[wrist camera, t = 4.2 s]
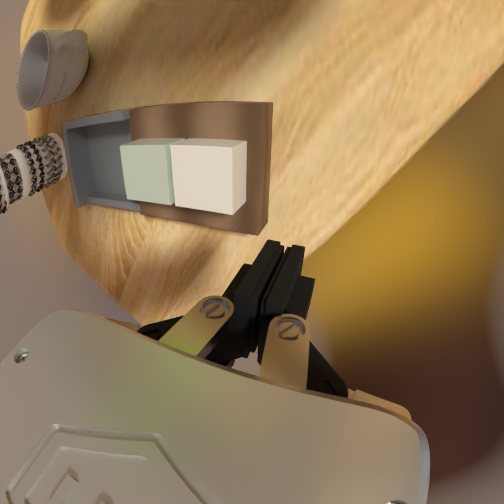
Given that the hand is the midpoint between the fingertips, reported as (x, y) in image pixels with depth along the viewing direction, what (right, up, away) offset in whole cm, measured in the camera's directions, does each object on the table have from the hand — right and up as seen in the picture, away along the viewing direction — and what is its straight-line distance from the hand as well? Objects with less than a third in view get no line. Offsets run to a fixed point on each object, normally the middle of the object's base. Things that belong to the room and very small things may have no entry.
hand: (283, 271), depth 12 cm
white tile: (-4, +8, +11) cm, 15 cm away
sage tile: (-10, +9, +13) cm, 19 cm away
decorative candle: (-34, +17, +22) cm, 43 cm away
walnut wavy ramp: (-6, +10, +14) cm, 19 cm away
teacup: (-24, +26, +12) cm, 37 cm away
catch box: (-19, +13, +18) cm, 29 cm away
